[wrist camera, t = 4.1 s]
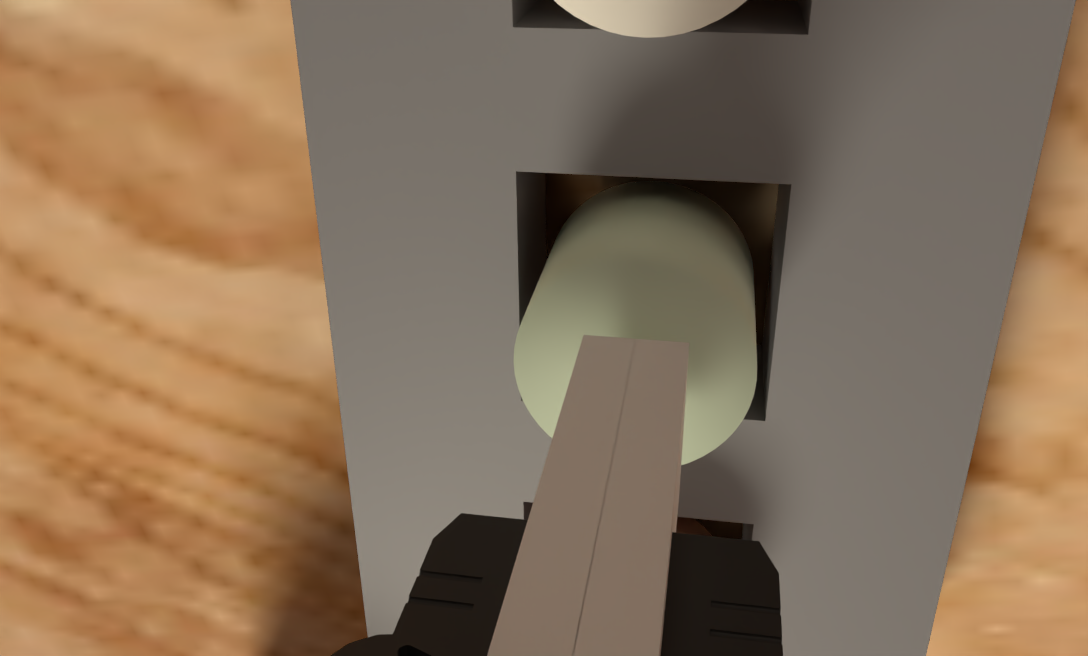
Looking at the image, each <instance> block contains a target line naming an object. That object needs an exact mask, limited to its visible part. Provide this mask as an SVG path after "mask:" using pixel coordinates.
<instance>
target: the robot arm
mask: <svg viewBox="0 0 1088 656" xmlns="http://www.w3.org/2000/svg"><path fill="white" fill-rule="evenodd" d="M688 356H689V343H686V342H673V341H659V340H646V339H632V338H619V337H605V336H592V335H583V338H582V342H581V345H580V348H579V352H578V355H577V358H576V362H575V365H574V368H573V372H572V375H571V378H570V382H569V385H568V388H567V391H566V395H565V398H564V401H563V405H562V408H561V411H560V415H559V418H558V421H557V425H556V428H555V431H554V435H553V438H552V441H551V445H550V448H549V451H548V455H547V458H546V461H545V465H544V468H543V471H542V475H541V478H540V481H539V485H538V488H537V491H536V495H535V498H534V501H533V505H532V508H531V511H530V515H529V518H528V520H523V519H514V518H504V517H494V516H485V515H475V514H466V513H461V514H460V515H459V516H457V517H456V518H455V519H454V520H453V521H452V522H451V523H450V524H449V525H448V526H446V527H445V528H444V529H443V530H442V531H441V532H440V533H439V534H438V535H436V536H435V537H434V538H433V540H432V542H431V545H430V547H429V549H428V552H427V554H426V556H425V559H424V561H423V564H422V566H421V568H420V574H419V577H418V576H417V578H416V580H415V582H414V585H413V587H412V590H411V592H410V594H409V600H408V603H406V604H405V606H404V608H403V611H402V613H401V616H400V618H399V620H398V623H397V625H396V627H395V630H394V632H393V634H380V635H374V636H371V637H368V638H365V639H361V640H358V641H355V642H352V643H349V644H347V645H346V646H344V647H343V648H341V649H340V650H338V651H337V652H335V653H334V654H332V655H331V656H783V645H782V623H781V615H780V612H781V603H780V582H779V572H778V571H777V569H776V568H775V566H774V564H773V563H772V561H771V560H770V558H769V556H768V555H767V553H766V551H765V550H764V548H763V547H762V545H761V543H760V542H759V541H752V540H742V539H733V538H723V537H713V536H704V535H694V534H685V533H676V526H677V515H678V504H679V490H680V475H681V460H682V446H683V431H684V416H685V401H686V386H687V371H688Z"/></svg>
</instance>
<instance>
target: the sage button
mask: <svg viewBox="0 0 1088 656" xmlns="http://www.w3.org/2000/svg"><path fill="white" fill-rule="evenodd" d="M583 335H592V336H605V337H619V338H632V339H646V340H659V341H673V342H686V343H689V356H688V371H687V386H686V401H685V416H684V431H683V446H682V460H681V465H684V464H687V463H690V462H692V461H694V460H697V459H699V458H701V457H703V456H705V455H706V454H708V453H710V452H711V451H713V450H714V449H716V448H717V447H718V446H720V445H721V444H722V443H723V442H725V441H726V440H727V439H728V438H729V437H730V436H731V435H732V434H733V432H734V431H735V430H736V429H737V428H738V426H739V425H740V423H741V422H742V421H743V419H744V417H745V415H746V413H747V412H748V410H749V408H750V405H751V402H752V399H753V396H754V393H755V387H756V382H757V349H756V321H755V293H754V270H753V262H752V257H751V253H750V250H749V247H748V244H747V242H746V240H745V237H744V235H743V234H742V232H741V230H740V229H739V227H738V226H737V224H736V223H735V222H734V220H733V219H732V218H731V217H730V216H729V214H728V213H726V212H725V211H724V210H723V209H722V208H721V207H720V206H719V205H718V204H716V203H715V202H713V201H712V200H711V199H709V198H708V197H706V196H704V195H702V194H700V193H699V192H697V191H695V190H692V189H689V188H687V187H684V186H681V185H677V184H673V183H669V182H660V181H637V182H630V183H625V184H621V185H617V186H614V187H611V188H609V189H606V190H604V191H601V192H600V193H598V194H596V195H594V196H593V197H591V198H589V199H588V200H587V201H585V202H584V203H583V204H582V205H580V206H579V207H578V208H577V209H576V210H575V211H574V212H573V213H572V214H571V215H570V216H569V218H568V219H567V220H566V222H565V223H564V225H563V226H562V228H561V230H560V232H559V233H558V235H557V237H556V240H555V242H554V245H553V247H552V249H551V252H550V254H549V257H548V259H547V262H546V264H545V266H544V269H543V271H542V274H541V276H540V278H539V281H538V283H537V286H536V288H535V291H534V293H533V295H532V298H531V300H530V303H529V305H528V307H527V310H526V312H525V315H524V317H523V320H522V322H521V325H520V327H519V330H518V333H517V337H516V342H515V346H514V372H515V378H516V382H517V386H518V389H519V392H520V394H521V397H522V399H523V402H524V404H525V405H526V407H527V409H528V411H529V412H530V414H531V415H532V417H533V418H534V419H535V421H536V422H537V423H538V425H539V426H540V427H541V428H542V429H543V430H544V431H545V432H546V433H547V434H548V435H549V436H550V437H551V438H553V435H554V431H555V428H556V425H557V421H558V418H559V415H560V411H561V408H562V405H563V401H564V398H565V395H566V391H567V388H568V385H569V382H570V378H571V375H572V372H573V368H574V365H575V362H576V358H577V355H578V352H579V348H580V345H581V342H582V338H583Z"/></svg>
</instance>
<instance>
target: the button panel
mask: <svg viewBox="0 0 1088 656" xmlns="http://www.w3.org/2000/svg"><path fill="white" fill-rule="evenodd" d="M1075 1H1076V0H798V1H788V0H747V1H746V2H744V3H743V4H742V5H741V6H739V7H738V8H737V9H736V10H734V11H732V12H731V13H729V14H728V15H726V16H724V17H723V18H721V19H720V20H718V21H715V22H713V23H711V24H709V25H707V26H705V27H702V28H700V29H696V30H693V31H690V32H687V33H684V34H679V35H673V36H667V37H652V38H643V37H632V36H624V35H620V34H616V33H611V32H608V31H605V30H602V29H600V28H597V27H594V26H592V25H590V24H588V23H586V22H584V21H582V20H580V19H579V18H577V17H575V16H573V15H572V14H571V13H569V12H568V11H566V10H565V9H564V8H562V7H561V6H559V5H558V4H557V3H556V2H555V1H554V0H291V8H292V16H293V24H294V33H295V41H296V49H297V57H298V66H299V74H300V82H301V90H302V99H303V107H304V115H305V123H306V132H307V140H308V148H309V156H310V165H311V173H312V181H313V189H314V198H315V206H316V214H317V222H318V231H319V239H320V247H321V255H322V264H323V272H324V280H325V288H326V297H327V305H328V313H329V321H330V330H331V338H332V346H333V354H334V363H335V371H336V379H337V387H338V396H339V404H340V412H341V420H342V429H343V437H344V445H345V453H346V462H347V470H348V478H349V486H350V495H351V503H352V511H353V519H354V528H355V536H356V544H357V552H358V561H359V569H360V577H361V585H362V594H363V602H364V610H365V618H366V627H367V635H368V637H371V636H374V635H380V634H393V632H394V630H395V627H396V625H397V623H398V620H399V618H400V616H401V613H402V611H403V608H404V606H405V604H406V603H408V600H409V594H410V592H411V590H412V587H413V585H414V582H415V580H416V578H417V576H418V577H419V574H420V568H421V566H422V564H423V561H424V559H425V556H426V554H427V552H428V549H429V547H430V545H431V542H432V540H433V538H434V537H435V536H436V535H438V534H439V533H440V532H441V531H442V530H443V529H444V528H445V527H446V526H448V525H449V524H450V523H451V522H452V521H453V520H454V519H455V518H456V517H457V516H459V515H460V514H461V513H466V514H475V515H485V516H494V517H504V518H514V519H523V520H528V518H529V515H530V511H531V508H532V505H533V501H534V498H535V495H536V491H537V488H538V485H539V481H540V478H541V475H542V471H543V468H544V465H545V461H546V458H547V455H548V451H549V448H550V445H551V441H552V438H551V437H550V436H549V435H548V434H547V433H546V432H545V431H544V430H543V429H542V428H541V427H540V426H539V425H538V423H537V422H536V421H535V419H534V418H533V417H532V415H531V414H530V412H529V411H528V409H527V407H526V405H525V404H524V402H523V399H522V397H521V394H520V392H519V389H518V386H517V382H516V378H515V372H514V346H515V342H516V337H517V333H518V330H519V327H520V325H521V322H522V320H523V317H524V315H525V312H526V310H527V307H528V305H529V303H530V300H531V298H532V295H533V293H534V291H535V288H536V286H537V283H538V281H539V278H540V276H541V274H542V271H543V269H544V266H545V264H546V173H561V174H582V175H603V176H624V177H645V178H666V179H687V180H708V181H729V182H750V183H771V184H779V185H778V194H777V204H776V213H775V223H774V233H773V242H772V252H771V261H770V271H769V280H768V290H767V299H766V309H765V318H764V328H763V337H762V345H761V344H756V349H757V382H756V387H755V393H754V396H753V399H752V402H751V405H750V408H749V410H748V412H747V413H746V415H745V417H744V419H743V421H742V422H741V423H740V425H739V426H738V428H737V429H736V430H735V431H734V432H733V434H732V435H731V436H730V437H729V438H728V439H727V440H726V441H725V442H723V443H722V444H721V445H720V446H718V447H717V448H716V449H714V450H713V451H711V452H710V453H708V454H706V455H705V456H703V457H701V458H699V459H697V460H694V461H692V462H690V463H687V464H684V465H681V475H680V490H679V504H678V515H677V517H685V518H695V519H705V520H715V521H725V522H736V523H743V528H742V537H741V539H742V540H752V541H759V542H760V543H761V545H762V547H763V548H764V550H765V551H766V553H767V555H768V556H769V558H770V560H771V561H772V563H773V564H774V566H775V568H776V569H777V571H778V572H779V582H780V603H781V612H780V615H781V623H782V645H783V656H926V653H927V648H928V644H929V640H930V635H931V631H932V626H933V622H934V618H935V613H936V609H937V605H938V600H939V596H940V591H941V587H942V583H943V578H944V574H945V570H946V565H947V561H948V556H949V552H950V548H951V543H952V539H953V535H954V530H955V526H956V522H957V517H958V513H959V508H960V504H961V500H962V495H963V491H964V487H965V482H966V478H967V473H968V469H969V465H970V460H971V456H972V452H973V447H974V443H975V438H976V434H977V430H978V425H979V421H980V417H981V412H982V408H983V404H984V399H985V395H986V390H987V386H988V382H989V377H990V373H991V369H992V364H993V360H994V355H995V351H996V347H997V342H998V338H999V334H1000V329H1001V325H1002V320H1003V316H1004V312H1005V307H1006V303H1007V299H1008V294H1009V290H1010V286H1011V281H1012V277H1013V272H1014V268H1015V264H1016V259H1017V255H1018V251H1019V246H1020V242H1021V237H1022V233H1023V229H1024V224H1025V220H1026V216H1027V211H1028V207H1029V202H1030V198H1031V194H1032V189H1033V185H1034V181H1035V176H1036V172H1037V168H1038V163H1039V159H1040V154H1041V150H1042V146H1043V141H1044V137H1045V133H1046V128H1047V124H1048V119H1049V115H1050V111H1051V106H1052V102H1053V98H1054V93H1055V89H1056V84H1057V80H1058V76H1059V71H1060V67H1061V63H1062V58H1063V54H1064V50H1065V45H1066V41H1067V36H1068V32H1069V28H1070V23H1071V19H1072V15H1073V10H1074V6H1075Z"/></svg>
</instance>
